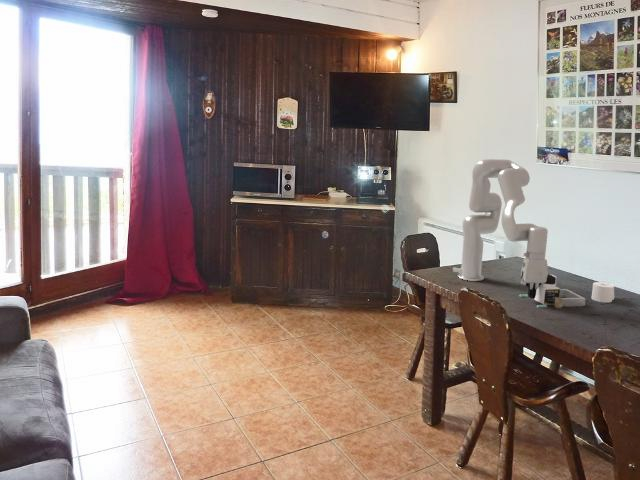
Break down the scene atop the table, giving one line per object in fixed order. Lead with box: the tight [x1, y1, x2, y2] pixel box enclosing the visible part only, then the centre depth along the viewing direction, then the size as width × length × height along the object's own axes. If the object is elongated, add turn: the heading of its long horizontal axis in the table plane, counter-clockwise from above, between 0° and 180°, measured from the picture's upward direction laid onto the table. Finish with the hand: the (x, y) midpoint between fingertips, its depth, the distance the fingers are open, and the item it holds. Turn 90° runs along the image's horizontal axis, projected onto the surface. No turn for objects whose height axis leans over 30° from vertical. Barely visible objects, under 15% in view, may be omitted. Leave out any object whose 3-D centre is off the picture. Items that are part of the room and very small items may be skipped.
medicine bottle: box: [533, 273, 561, 306], centre depth 238 cm, size 7×7×12 cm
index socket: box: [559, 288, 586, 307], centre depth 241 cm, size 10×14×3 cm
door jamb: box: [553, 297, 563, 309], centre depth 240 cm, size 2×18×4 cm, turn 7°
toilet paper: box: [591, 281, 615, 304], centre depth 246 cm, size 8×11×7 cm
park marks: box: [519, 293, 548, 309], centre depth 239 cm, size 4×16×1 cm, turn 8°
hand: (531, 297), depth 238 cm, fingers closed
